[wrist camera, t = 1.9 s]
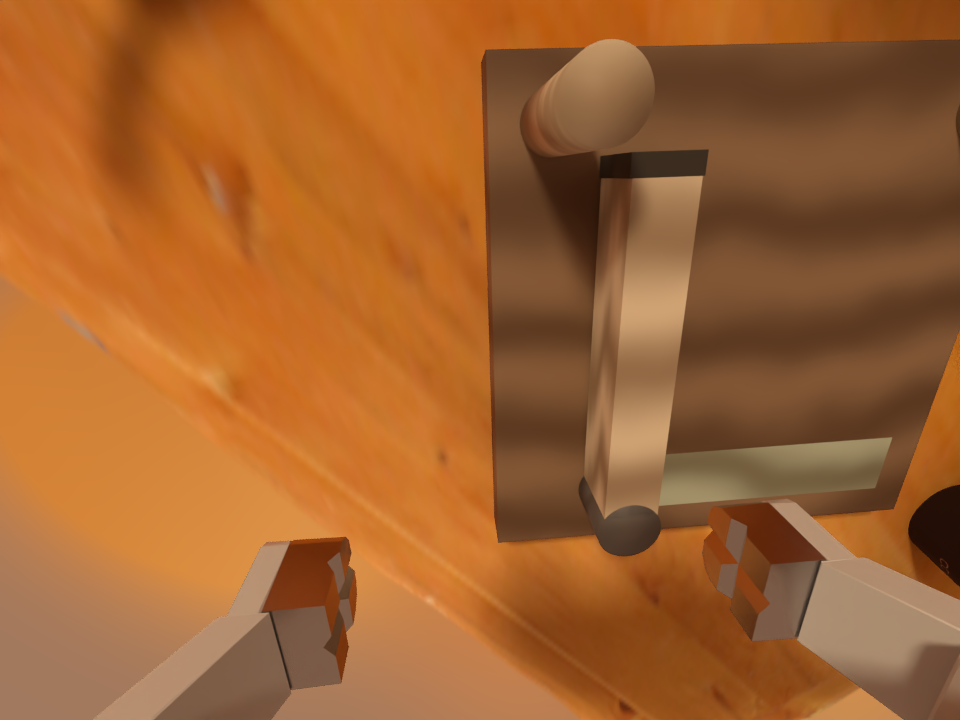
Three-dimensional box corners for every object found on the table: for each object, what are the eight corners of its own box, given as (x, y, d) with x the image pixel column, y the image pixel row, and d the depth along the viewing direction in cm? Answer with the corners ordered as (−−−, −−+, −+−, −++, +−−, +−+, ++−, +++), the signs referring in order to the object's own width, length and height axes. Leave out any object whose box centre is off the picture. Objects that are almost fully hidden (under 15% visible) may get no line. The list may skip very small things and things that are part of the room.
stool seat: (481, 62, 23) (511, -22, 13) (1007, 50, 25) (1380, -33, 15) (494, 517, 33) (516, 658, 24) (863, 487, 35) (1026, 606, 25)
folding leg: (631, 507, 30) (657, 553, 27) (577, 511, 30) (596, 558, 27) (668, 153, 23) (713, 149, 19) (596, 156, 22) (627, 152, 19)
